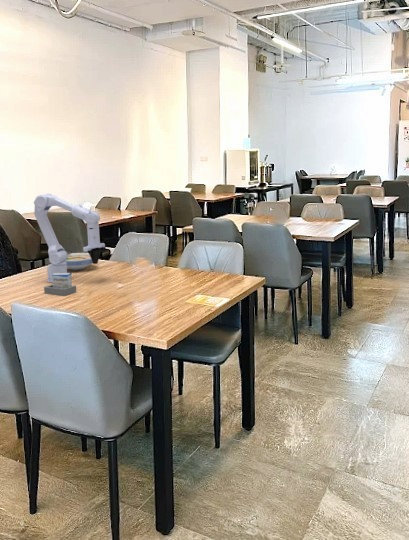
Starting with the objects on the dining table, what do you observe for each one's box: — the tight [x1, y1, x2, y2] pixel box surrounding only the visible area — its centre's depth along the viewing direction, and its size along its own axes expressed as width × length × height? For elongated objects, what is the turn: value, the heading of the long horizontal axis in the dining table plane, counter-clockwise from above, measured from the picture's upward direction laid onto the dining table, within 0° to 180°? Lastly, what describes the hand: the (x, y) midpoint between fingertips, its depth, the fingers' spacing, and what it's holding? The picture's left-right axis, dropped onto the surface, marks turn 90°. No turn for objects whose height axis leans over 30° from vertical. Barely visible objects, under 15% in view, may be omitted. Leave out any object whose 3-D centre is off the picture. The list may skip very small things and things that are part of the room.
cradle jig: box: [43, 283, 77, 297], centre depth 243 cm, size 12×8×3 cm, turn 63°
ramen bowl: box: [66, 250, 93, 271], centre depth 294 cm, size 25×23×8 cm
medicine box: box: [52, 272, 73, 289], centre depth 245 cm, size 8×4×9 cm, turn 88°
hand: (95, 263), depth 262 cm, fingers closed
